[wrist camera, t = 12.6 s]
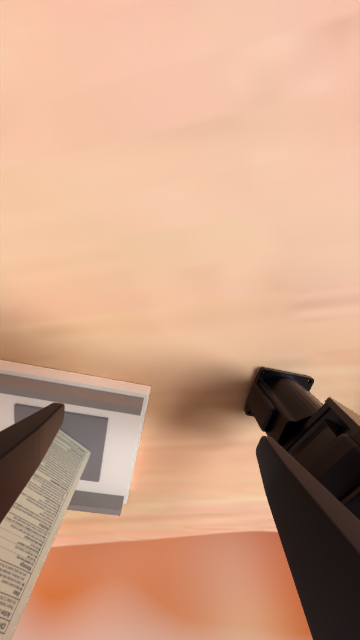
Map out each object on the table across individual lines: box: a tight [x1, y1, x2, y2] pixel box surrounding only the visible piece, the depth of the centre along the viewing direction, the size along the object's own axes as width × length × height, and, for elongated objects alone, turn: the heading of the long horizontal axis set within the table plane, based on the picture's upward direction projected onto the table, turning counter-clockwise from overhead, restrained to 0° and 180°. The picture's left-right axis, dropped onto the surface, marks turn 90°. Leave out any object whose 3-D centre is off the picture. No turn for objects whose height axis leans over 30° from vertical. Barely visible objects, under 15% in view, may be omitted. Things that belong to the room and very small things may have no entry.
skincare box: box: [0, 429, 91, 640], centre depth 16 cm, size 6×4×12 cm
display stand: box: [0, 360, 151, 516], centre depth 22 cm, size 18×18×3 cm
